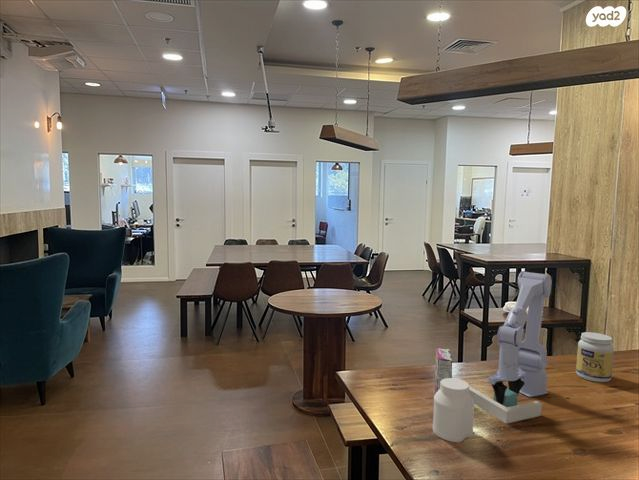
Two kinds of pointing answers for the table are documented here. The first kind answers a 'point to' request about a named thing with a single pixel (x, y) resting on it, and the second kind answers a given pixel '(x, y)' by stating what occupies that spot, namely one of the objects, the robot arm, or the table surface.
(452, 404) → the jar
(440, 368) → the candy bar box
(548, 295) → the robot arm
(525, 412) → the white l-shaped block
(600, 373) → the supplement tub
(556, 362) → the table surface
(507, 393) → the cube
